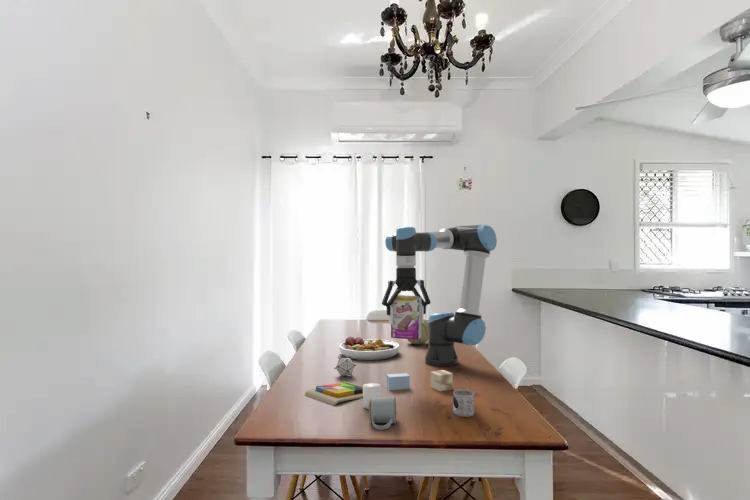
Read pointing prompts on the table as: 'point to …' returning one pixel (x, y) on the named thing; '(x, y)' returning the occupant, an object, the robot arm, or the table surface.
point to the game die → (345, 366)
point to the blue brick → (398, 381)
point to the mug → (463, 403)
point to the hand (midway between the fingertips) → (406, 323)
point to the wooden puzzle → (336, 392)
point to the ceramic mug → (382, 411)
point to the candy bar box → (406, 317)
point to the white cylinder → (370, 393)
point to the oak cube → (441, 380)
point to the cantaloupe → (422, 334)
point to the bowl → (368, 348)
